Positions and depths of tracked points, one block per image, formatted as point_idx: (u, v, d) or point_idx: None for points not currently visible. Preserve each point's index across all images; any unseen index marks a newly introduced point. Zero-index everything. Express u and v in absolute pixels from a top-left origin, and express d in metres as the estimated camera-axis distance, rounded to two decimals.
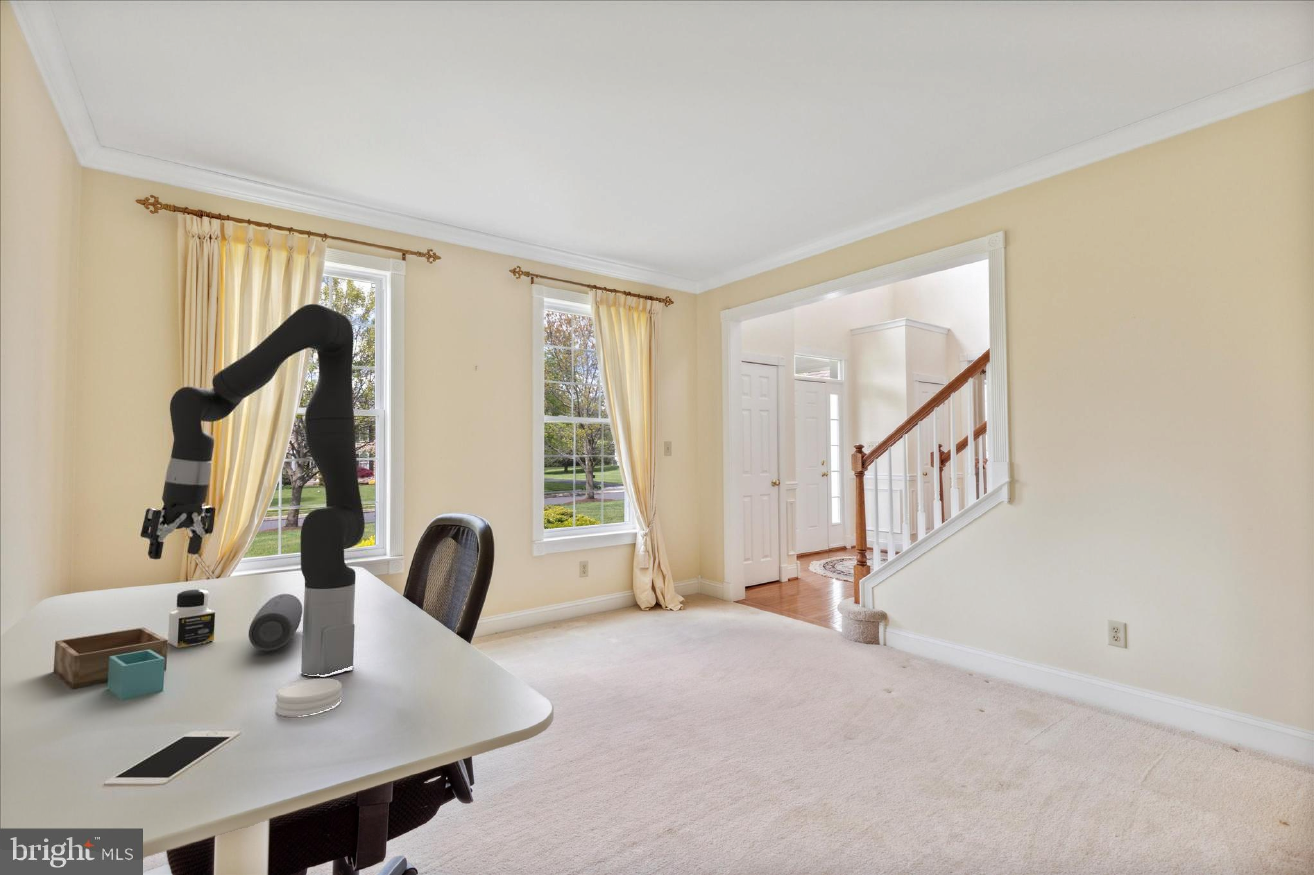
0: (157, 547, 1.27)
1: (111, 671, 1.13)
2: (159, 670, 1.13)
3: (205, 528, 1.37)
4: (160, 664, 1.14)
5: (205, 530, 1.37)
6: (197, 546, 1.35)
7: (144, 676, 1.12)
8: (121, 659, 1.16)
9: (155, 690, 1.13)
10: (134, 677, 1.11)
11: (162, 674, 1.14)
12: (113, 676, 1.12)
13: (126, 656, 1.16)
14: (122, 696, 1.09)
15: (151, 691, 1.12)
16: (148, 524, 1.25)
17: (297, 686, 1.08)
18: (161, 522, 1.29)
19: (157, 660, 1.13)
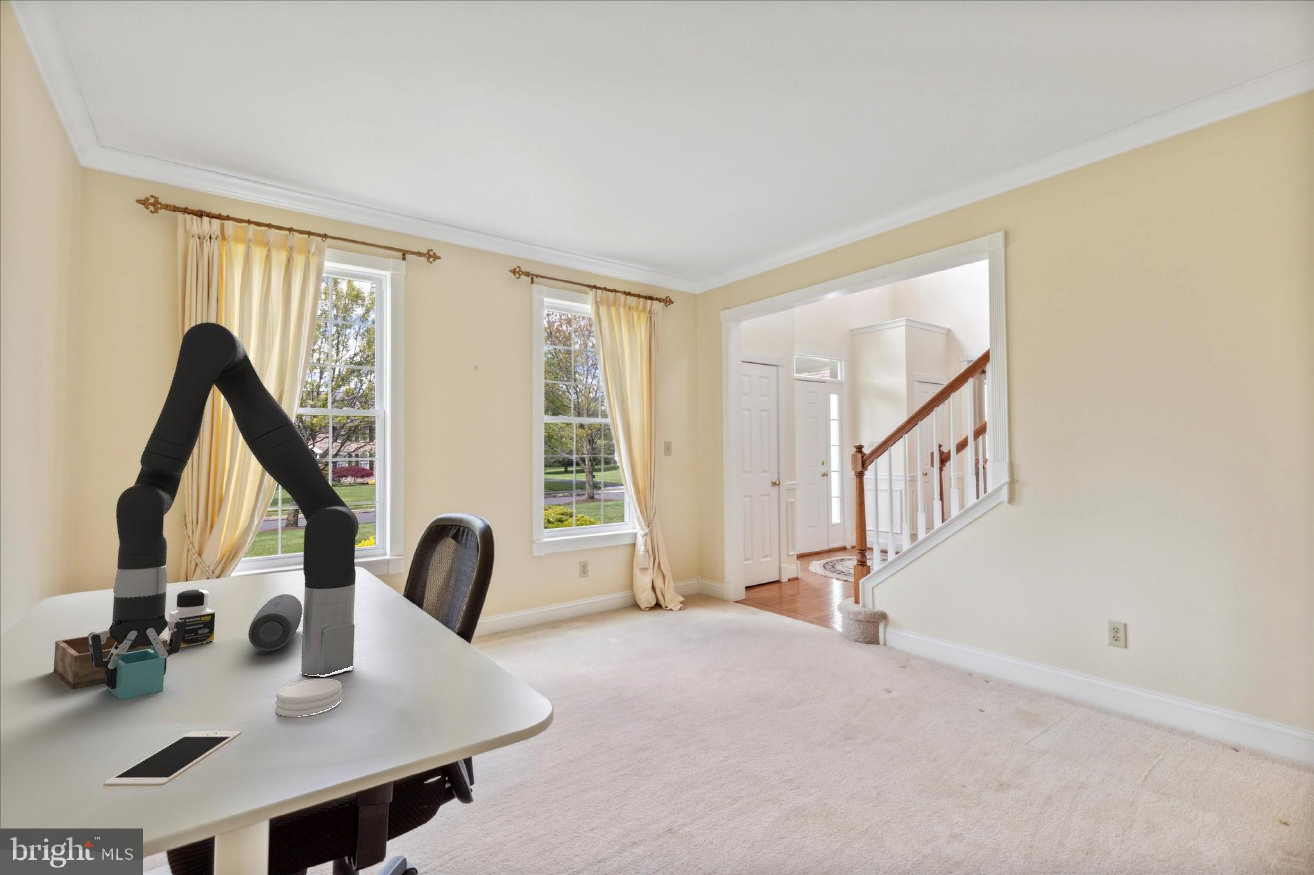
0: (110, 675, 1.11)
1: None
2: (159, 669, 1.13)
3: (171, 647, 1.18)
4: (160, 663, 1.14)
5: (169, 649, 1.18)
6: None
7: (144, 675, 1.12)
8: (121, 658, 1.16)
9: (155, 689, 1.13)
10: (134, 676, 1.10)
11: (162, 673, 1.14)
12: None
13: (126, 656, 1.16)
14: (122, 695, 1.09)
15: (151, 690, 1.12)
16: (91, 651, 1.09)
17: (297, 686, 1.08)
18: (116, 644, 1.13)
19: (157, 659, 1.13)
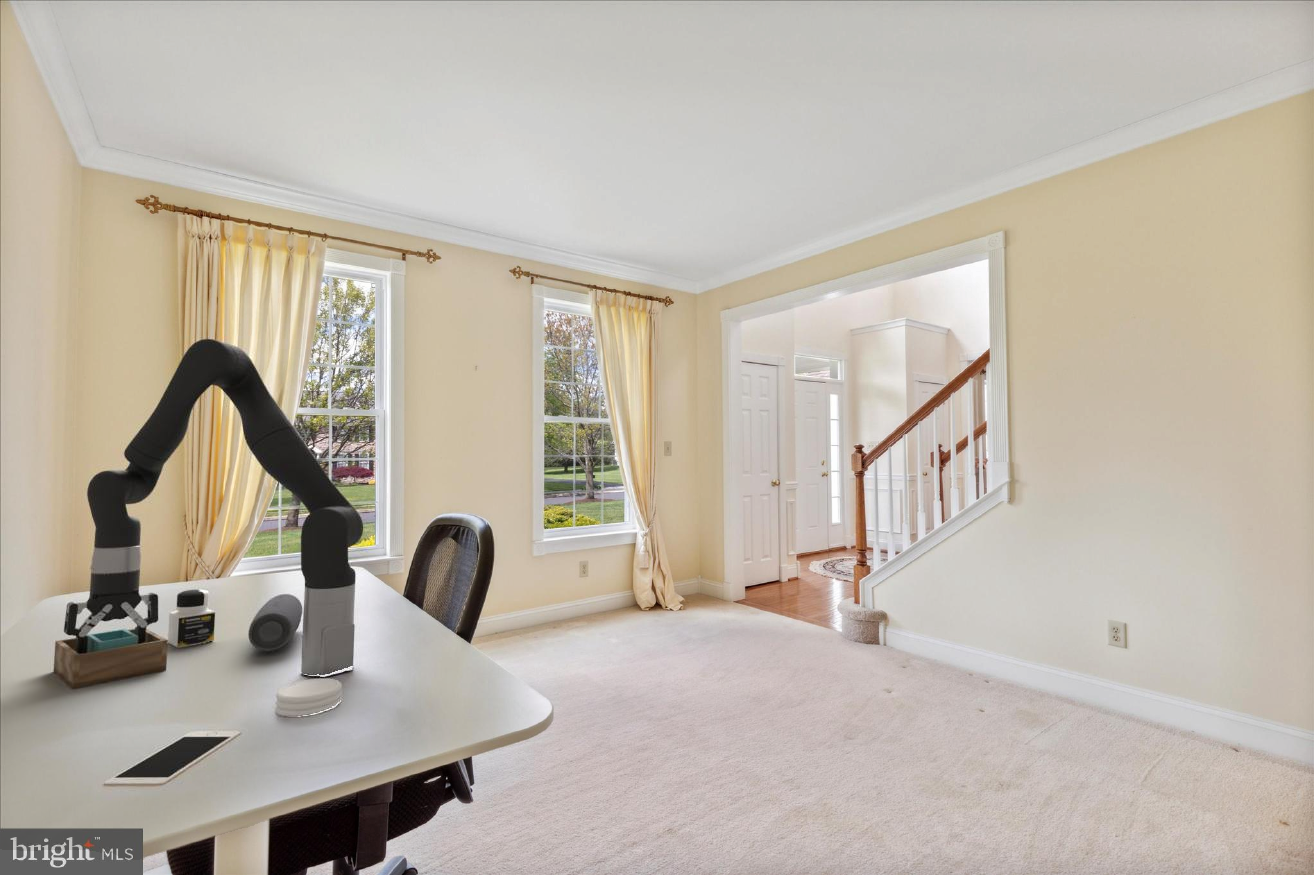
0: (81, 643, 1.20)
1: (88, 648, 1.24)
2: None
3: (150, 617, 1.29)
4: (134, 641, 1.24)
5: (149, 619, 1.29)
6: (138, 637, 1.27)
7: None
8: (98, 637, 1.26)
9: None
10: None
11: None
12: None
13: (102, 635, 1.26)
14: None
15: None
16: (66, 619, 1.19)
17: (296, 686, 1.08)
18: (91, 615, 1.23)
19: (131, 638, 1.24)
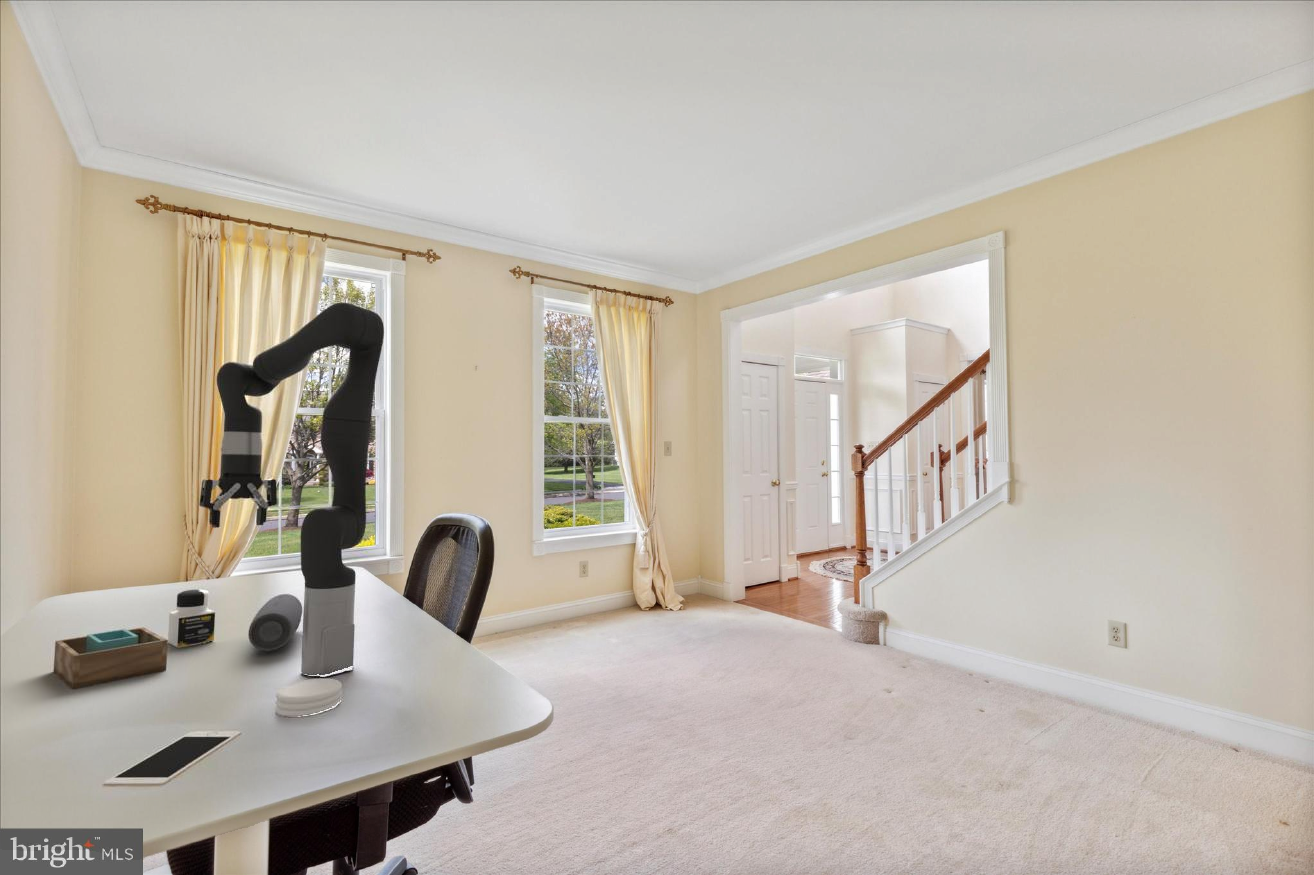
0: (214, 516, 1.33)
1: (88, 648, 1.24)
2: None
3: (270, 500, 1.42)
4: (134, 641, 1.24)
5: (269, 502, 1.41)
6: (261, 517, 1.39)
7: None
8: (98, 637, 1.26)
9: None
10: None
11: None
12: None
13: (102, 635, 1.26)
14: None
15: None
16: (202, 493, 1.32)
17: (296, 686, 1.08)
18: (221, 493, 1.35)
19: (131, 638, 1.24)
